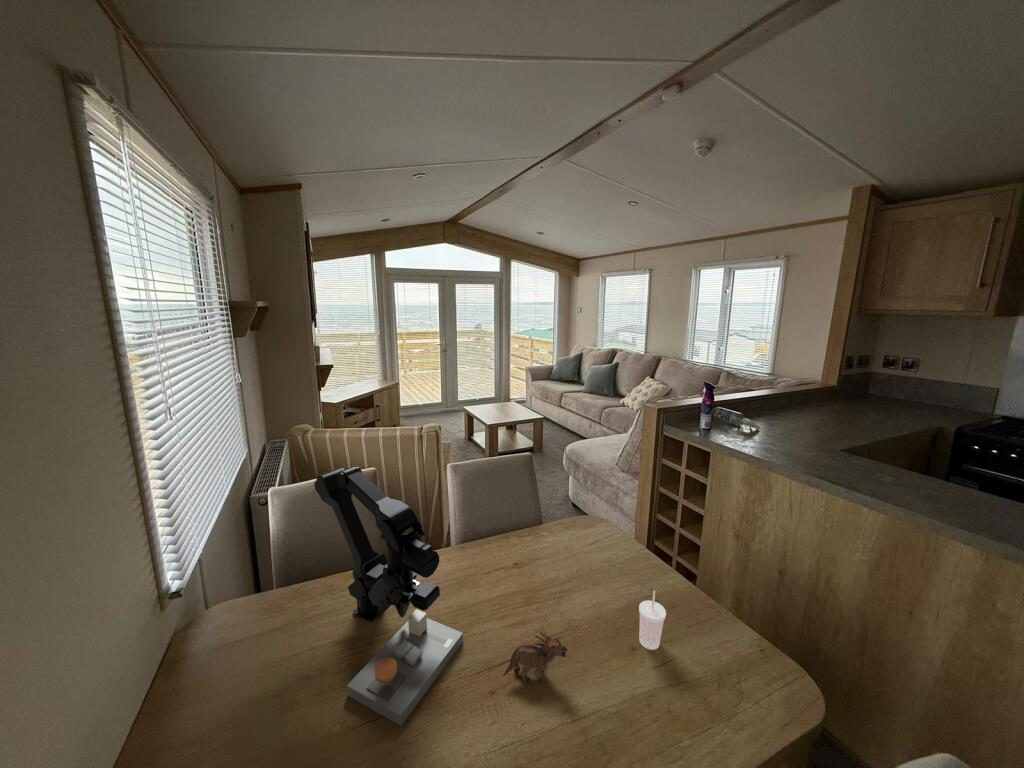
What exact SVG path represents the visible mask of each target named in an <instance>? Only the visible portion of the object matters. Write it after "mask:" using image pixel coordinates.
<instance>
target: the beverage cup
mask: <svg viewBox="0 0 1024 768" xmlns="http://www.w3.org/2000/svg"><path fill="white" fill-rule="evenodd" d="M652 592H653V593H652V600H650V599H649V600H643V601H642V602H640V603H639V605H638V612H639V631H638V632H639V636H638V637H639V638H638V639H639V643H640V644H641V645H642V646H643V647H644V648H645V649H647V650H652V651H653V650H657V649H658V648H659V646H660V643H661V638H662V637H661V636H662V633H663V628H664V627H663V626H664V622H665V620H666V617H667V610H666V609H665V607H664V606H663V605H662V604H660V603H659V602H657V601H655V599H656V590H653V591H652Z"/></svg>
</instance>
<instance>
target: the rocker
mask: <svg viewBox="0 0 1024 768" xmlns="http://www.w3.org/2000/svg"><path fill="white" fill-rule="evenodd" d="M422 652H423V651H422V650H420V649H418V648H417V647H415V646H414V645H412V644H411V643H409V642H408V641H406V640H404V641H403V642H402V643H401V644H400V646H399V647H398V648H397V649H396V650H395V654H396V655H397V656H399V657H400V658H402V659H403V660H404V661H406V662H408V663H409V664H411V665H412V666H413V665H414V664H415V663H416V661H417V660H418V659H419V658H420V657H421V655H422Z"/></svg>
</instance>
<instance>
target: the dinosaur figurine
mask: <svg viewBox="0 0 1024 768" xmlns="http://www.w3.org/2000/svg"><path fill="white" fill-rule="evenodd" d="M539 634H540V635H541V636H542V637H541V636H539V635H534V637H535V638H537V639H538V640H540V641H541V642H537V643H535V644H534V645H533V644H520V645H519V646H518V647H517V648H515V650H514V652H513V653H512V655H511V658H510V662H509V664H508V667H507V668H506V669H505V671H504V673H503V674H502V676H503V677H505V676H506V675H507V674H508V673H509V672H511V671H512V670H513V669H514V670H517V671H519V670H520V668H521V667H520V665H521V666H523V667H522V670H521V673H520V675H521V677H522V680H523V681H522V682H523V683H524V685H525V686H527V685H528V684H530V683H531V682H530V681H531V678H530V677H528V676H527V675H528V673H529V672H530V671H531V669H532V668H533V669H535V668H536V669H535V670H534V672H533V675H534V677H536V681H537V682H540V683H543V680H544V679H543V678H542V677H543V676H540V674H541V673H542V671H544V670H546V668H547V666H548V664H550V663H551V662H552V661H553V660H554V659H556V657H561V658H565V659H566V657H567V652H568V648H567V647H566V645H564V644H562V642H561V641H560V639H559V638H557V637H554V639H555V641H554V640H553V639H552V637H551V636H550V635H549V634H547V632H546V631H544V633H543V632H542V631H539ZM543 637H544V638H543ZM539 646H540V647H539Z"/></svg>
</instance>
